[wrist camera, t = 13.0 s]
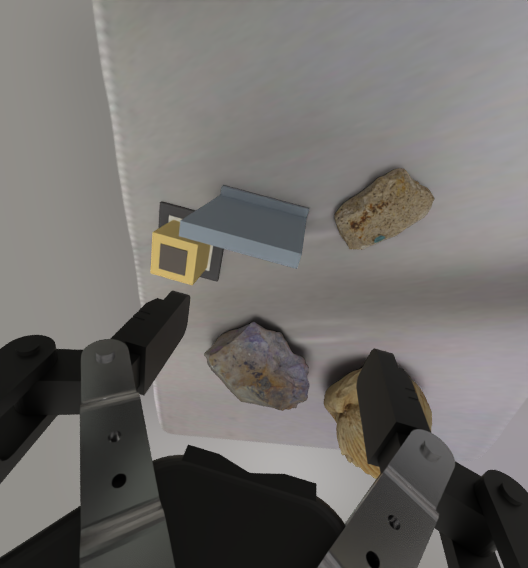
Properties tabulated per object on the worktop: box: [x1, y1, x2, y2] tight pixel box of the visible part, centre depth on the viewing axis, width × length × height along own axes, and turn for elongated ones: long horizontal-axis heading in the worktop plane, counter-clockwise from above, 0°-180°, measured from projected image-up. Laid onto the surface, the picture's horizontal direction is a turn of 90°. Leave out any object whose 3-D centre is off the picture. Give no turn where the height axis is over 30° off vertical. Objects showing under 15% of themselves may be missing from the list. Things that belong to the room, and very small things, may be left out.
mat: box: [159, 202, 224, 282], centre depth 44 cm, size 10×10×1 cm
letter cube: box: [151, 220, 211, 285], centre depth 41 cm, size 6×6×6 cm
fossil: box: [324, 368, 432, 479], centre depth 45 cm, size 15×17×15 cm
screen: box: [179, 185, 309, 269], centre depth 35 cm, size 4×12×14 cm, turn 77°
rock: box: [335, 168, 434, 250], centre depth 37 cm, size 8×11×4 cm
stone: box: [204, 322, 309, 411], centre depth 48 cm, size 18×10×15 cm
